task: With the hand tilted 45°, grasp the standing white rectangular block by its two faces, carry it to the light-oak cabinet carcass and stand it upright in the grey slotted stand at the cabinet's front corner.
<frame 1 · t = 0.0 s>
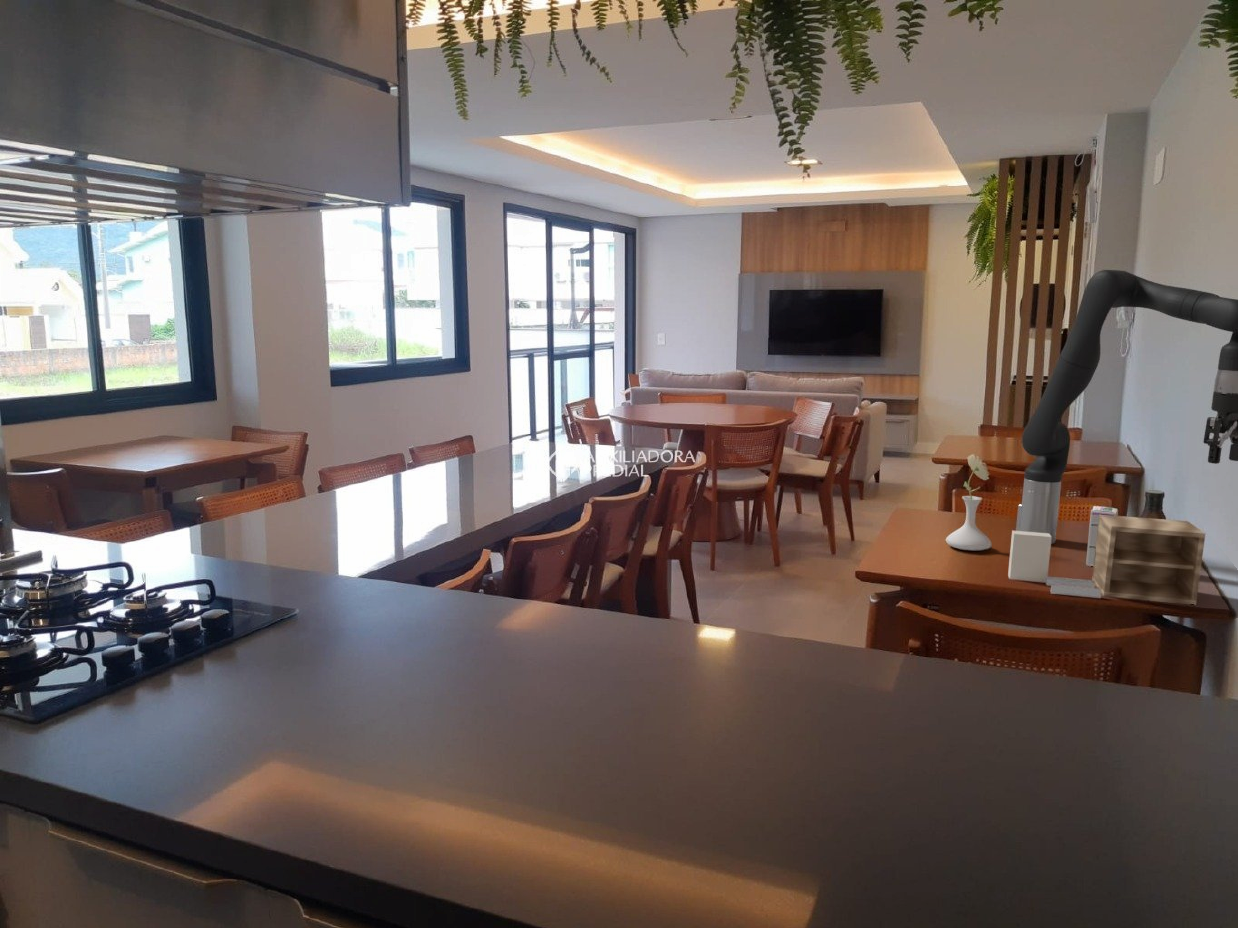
hand: (1224, 461, 200), 29 cm above the table, tool pointing down, fingers open, 8 cm apart
grey slotted stand: (1072, 591, 199), on the table
carcass: (1141, 592, 199), on the table
white rectangular block: (1027, 578, 208), on the table
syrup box: (1098, 565, 221), on the table
sauce bottle: (1147, 570, 217), on the table
flower in vase: (967, 548, 235), on the table
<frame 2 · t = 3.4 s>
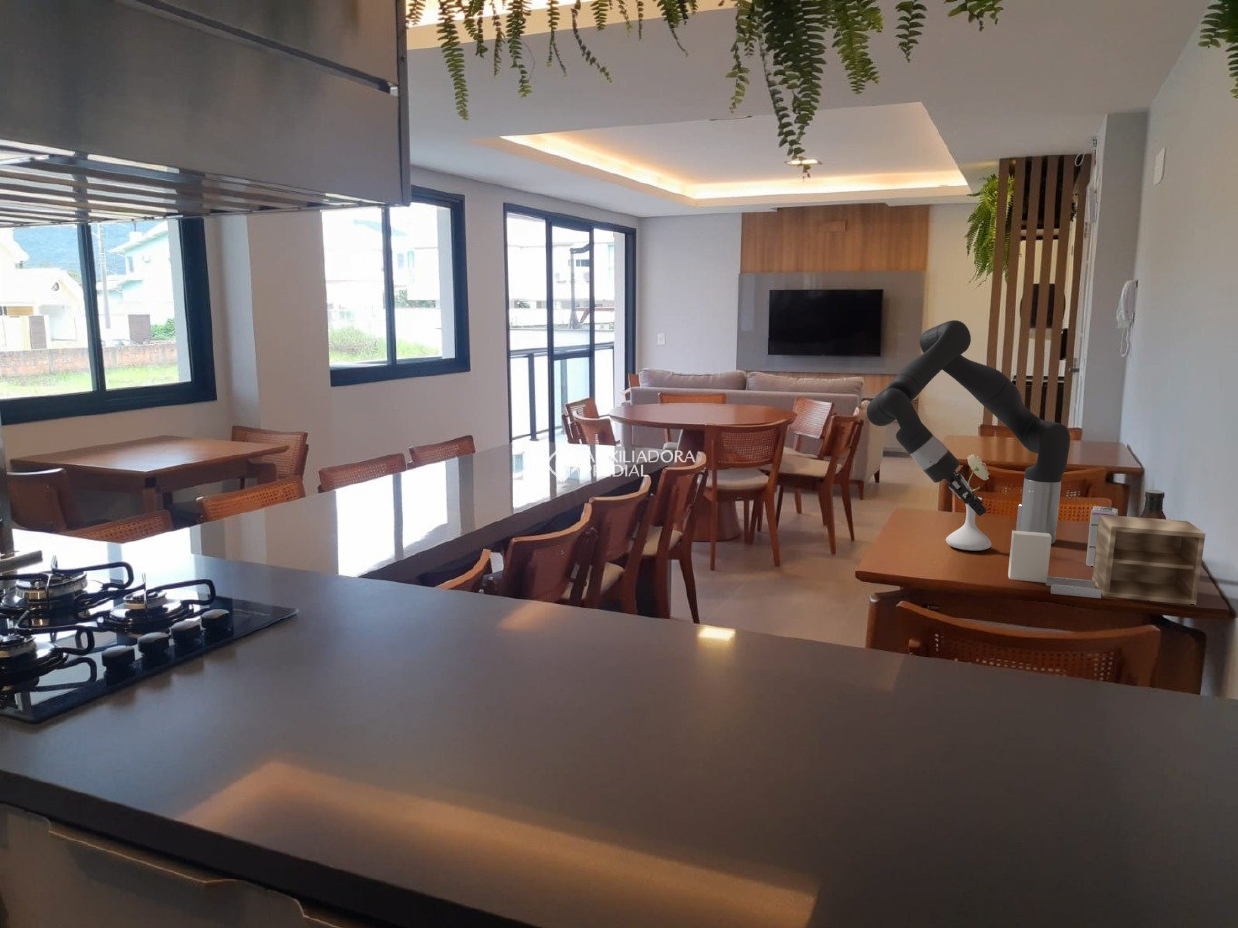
hand: (981, 509, 209), 16 cm above the table, tool tilted 45°, fingers open, 8 cm apart
nothing on the table moved.
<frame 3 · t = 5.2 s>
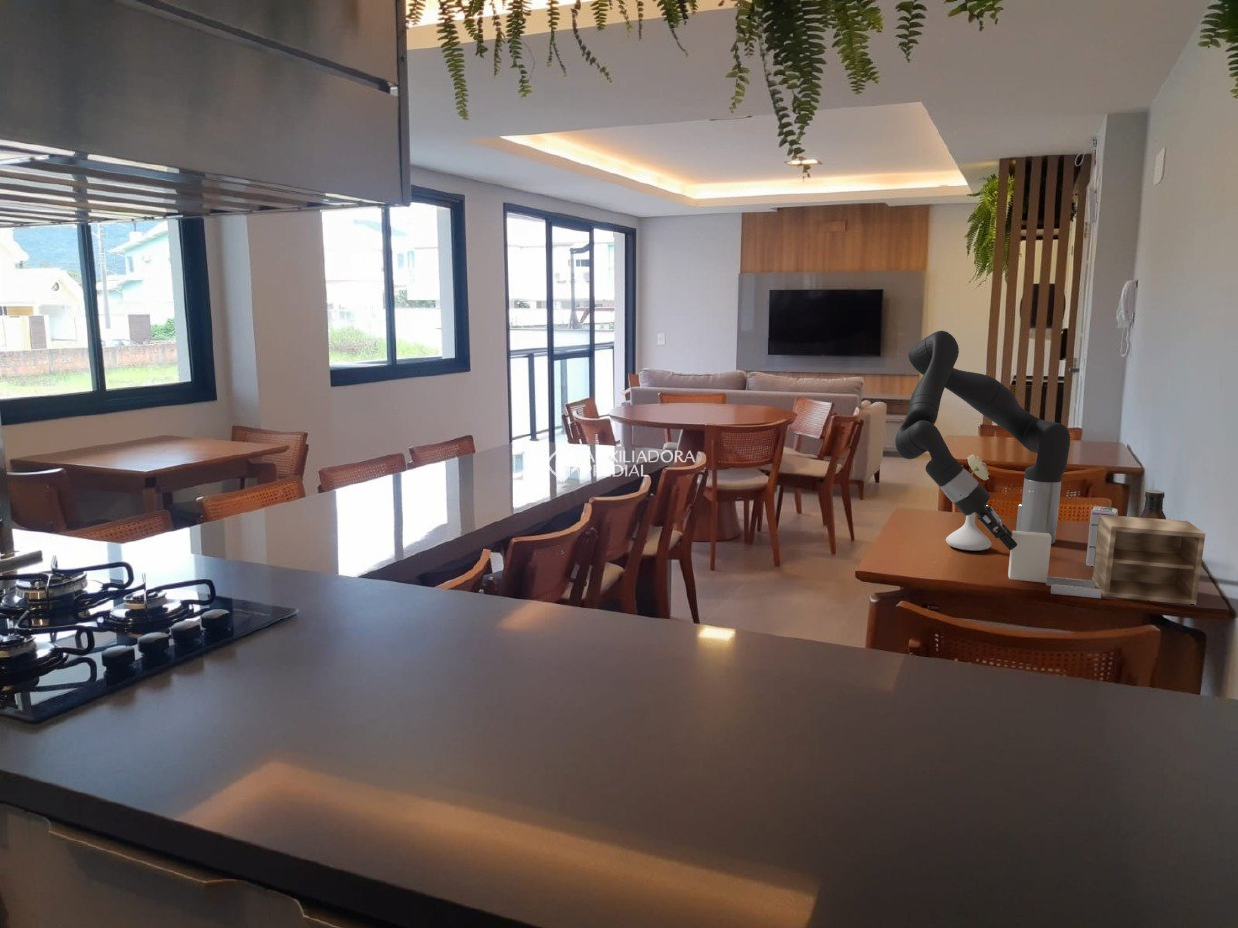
hand: (1011, 542, 208), 8 cm above the table, tool tilted 45°, fingers open, 8 cm apart
nothing on the table moved.
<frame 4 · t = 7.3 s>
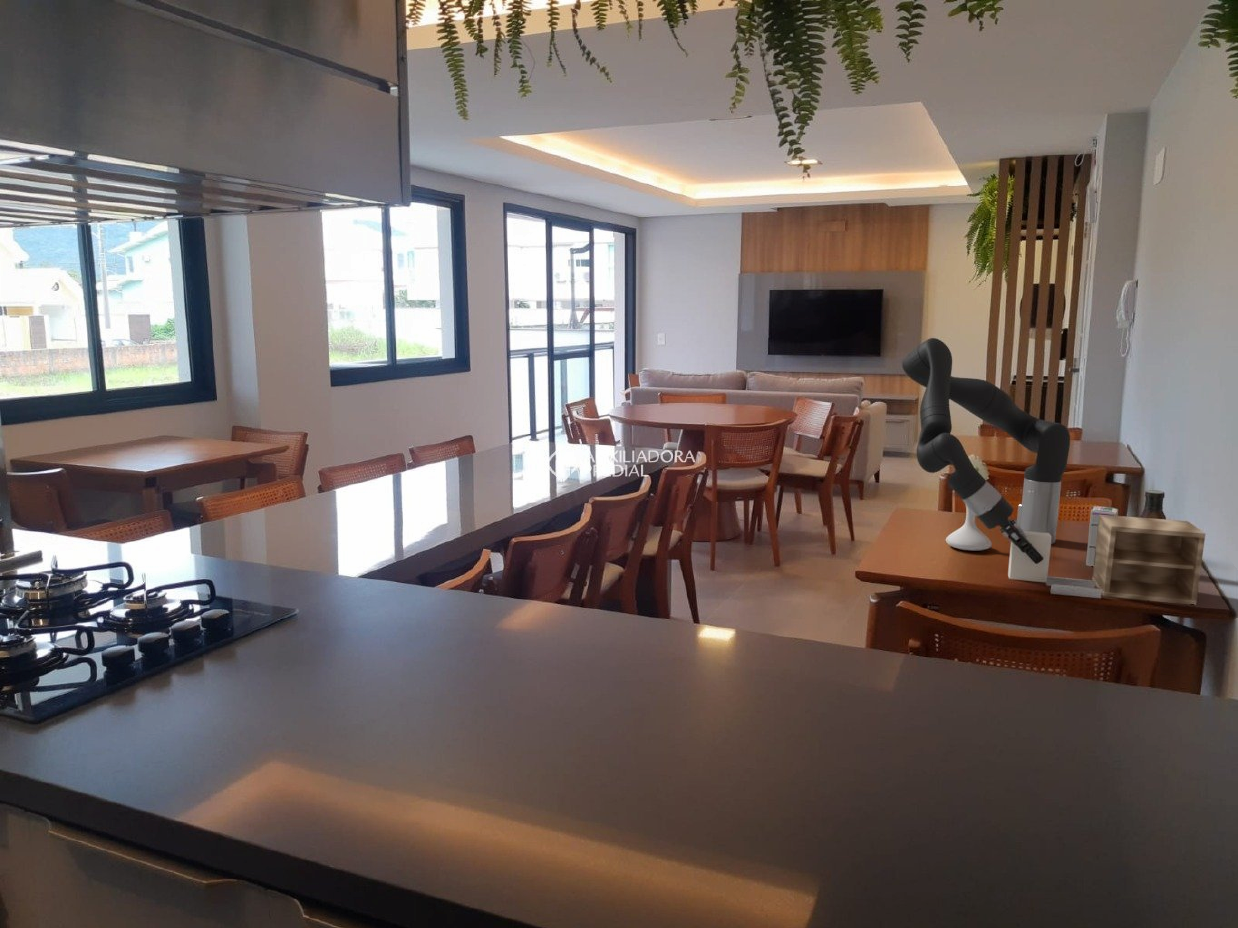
hand: (1038, 558, 207), 5 cm above the table, tool tilted 45°, fingers closed on white rectangular block, 3 cm apart
white rectangular block: (1027, 578, 208), on the table, touching gripper
everything else where it was.
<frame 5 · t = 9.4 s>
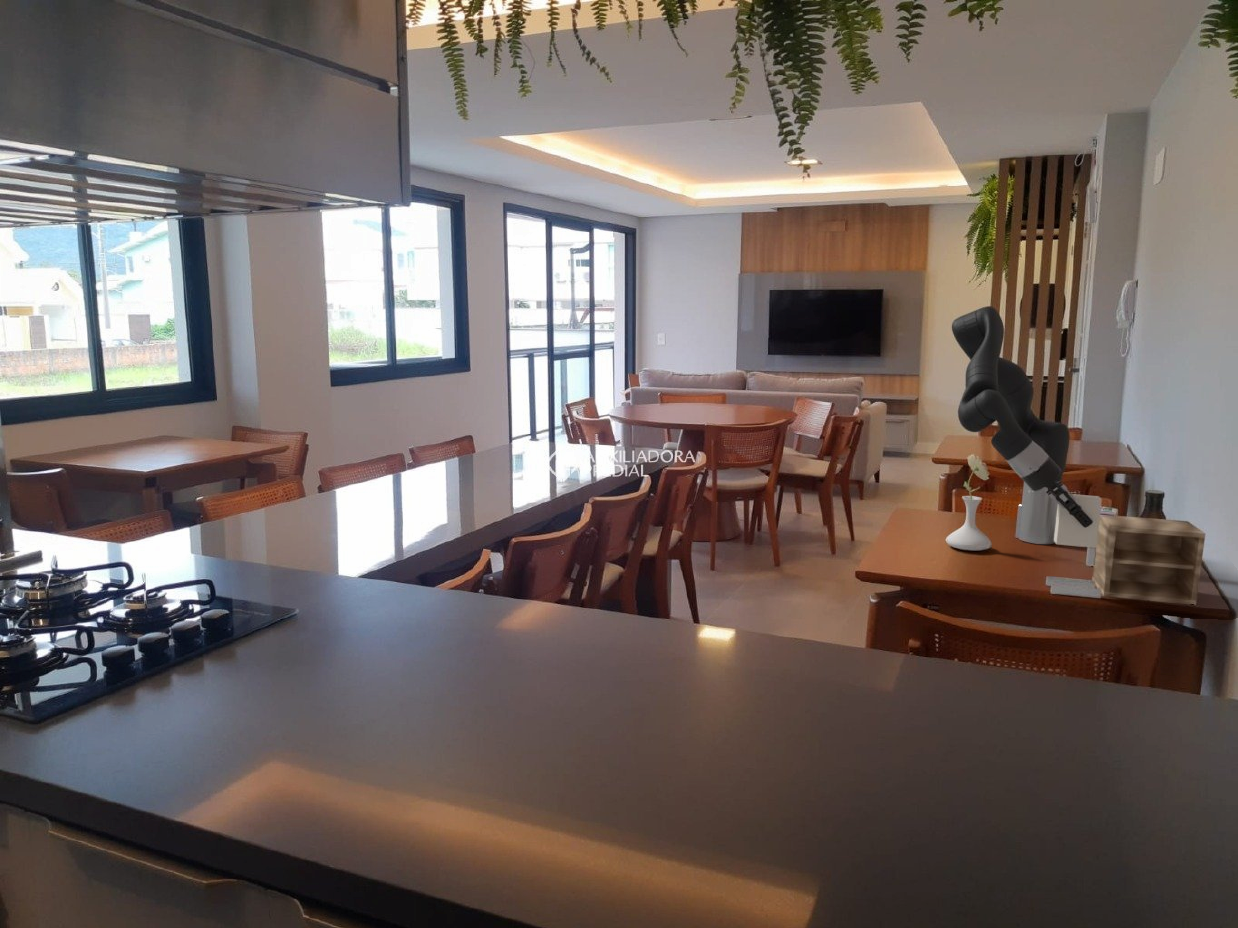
hand: (1087, 522, 196), 16 cm above the table, tool tilted 45°, fingers closed on white rectangular block, 3 cm apart
white rectangular block: (1074, 544, 197), point 11 cm above the table, touching gripper
everything else where it was.
when the fingers open (7 cm above the table, at t = 11.8 s): white rectangular block drops 2 cm, resting in grey slotted stand.
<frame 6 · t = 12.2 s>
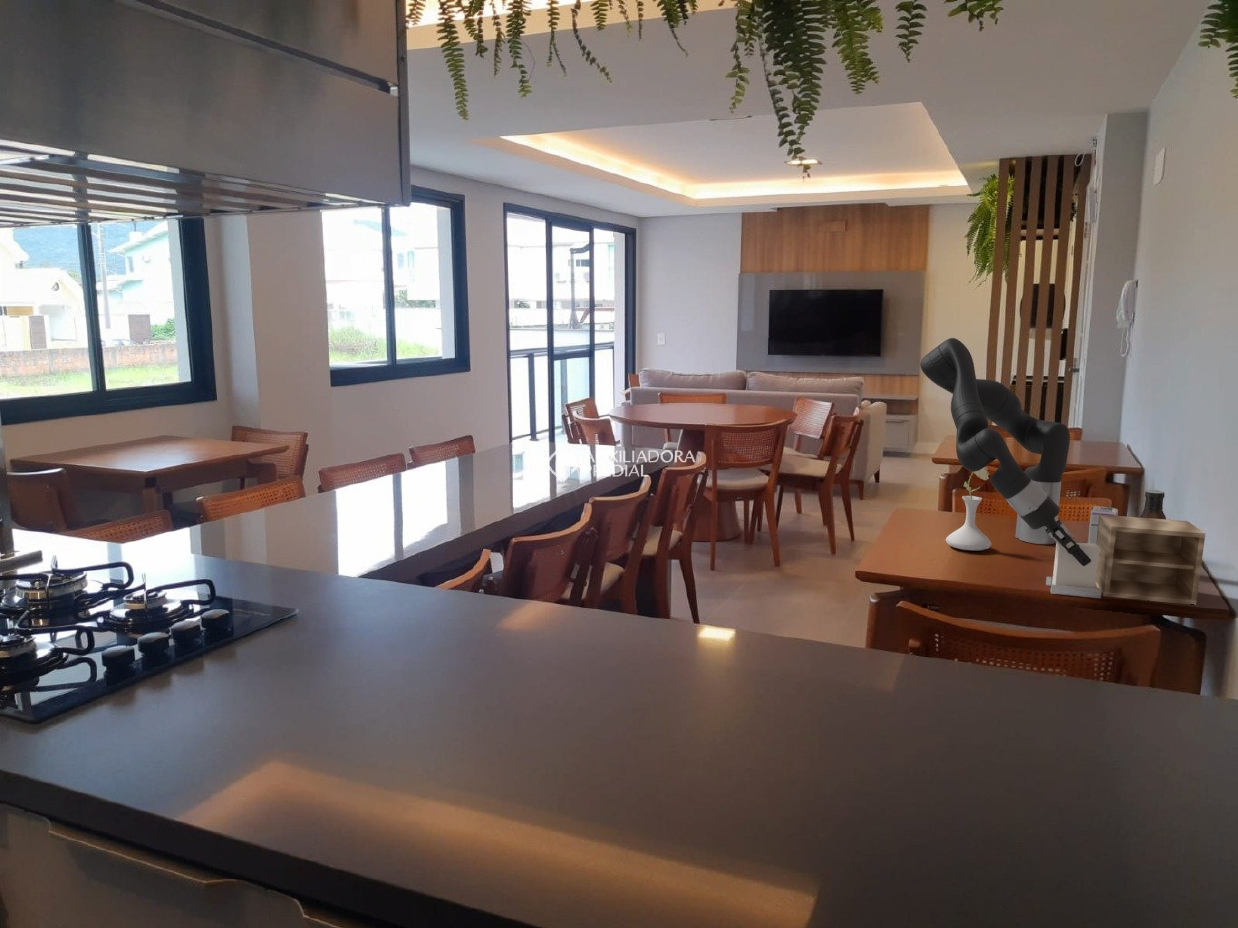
hand: (1083, 558, 197), 8 cm above the table, tool tilted 45°, fingers open, 7 cm apart
white rectangular block: (1072, 591, 199), resting in grey slotted stand
everything else where it was.
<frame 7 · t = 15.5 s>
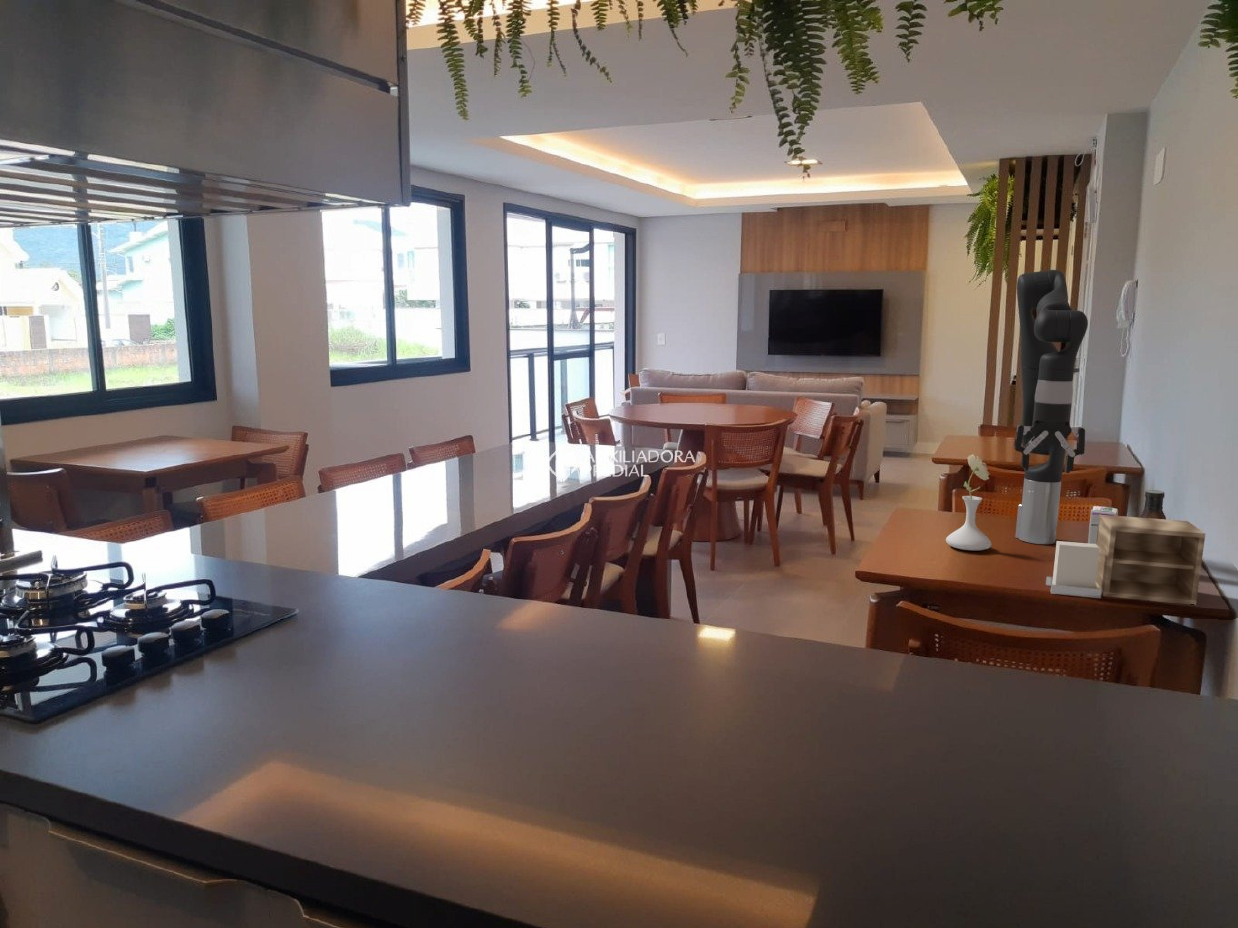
hand: (1046, 471, 200), 26 cm above the table, tool pointing down, fingers open, 8 cm apart
nothing on the table moved.
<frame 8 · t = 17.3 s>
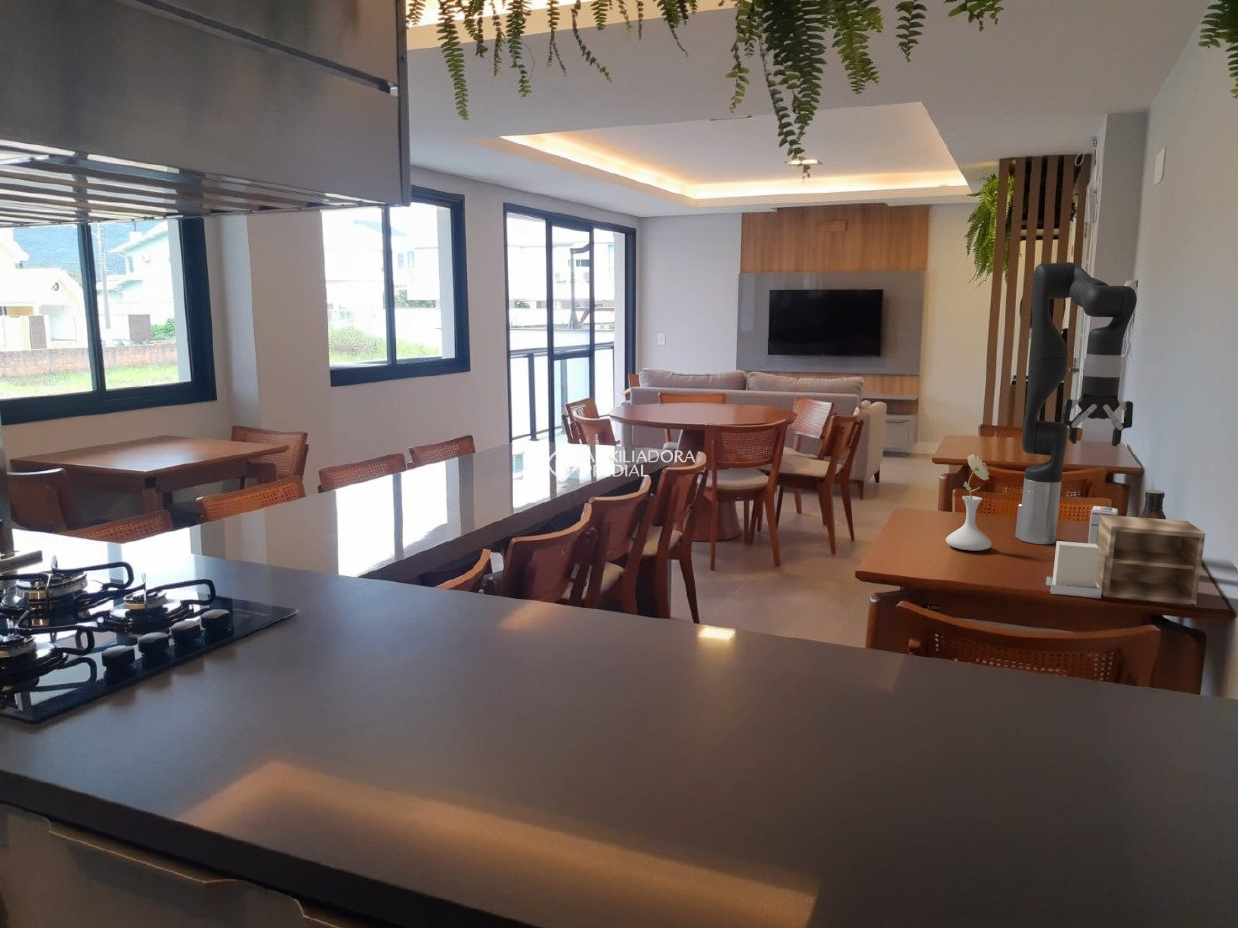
hand: (1093, 444, 204), 32 cm above the table, tool pointing down, fingers open, 8 cm apart
nothing on the table moved.
at the end: white rectangular block 0.0 cm off-centre on the grey slotted stand, point 0.0 cm above the grey slotted stand's base; white rectangular block tilted 0°; the gripper is holding nothing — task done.
